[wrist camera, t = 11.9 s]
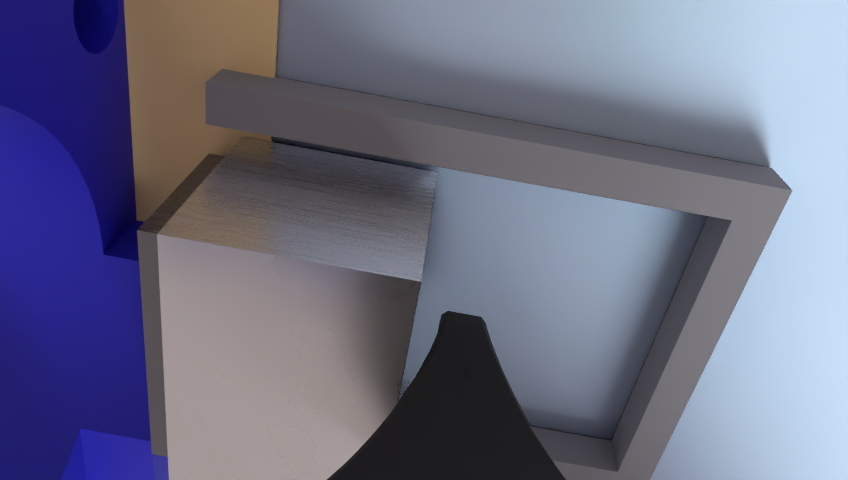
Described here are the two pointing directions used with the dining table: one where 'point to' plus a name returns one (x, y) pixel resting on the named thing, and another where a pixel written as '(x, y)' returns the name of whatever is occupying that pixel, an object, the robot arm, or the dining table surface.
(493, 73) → the dining table surface
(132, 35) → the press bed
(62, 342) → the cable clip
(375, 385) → the block
